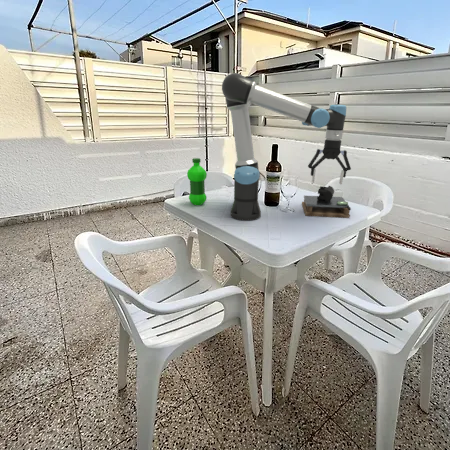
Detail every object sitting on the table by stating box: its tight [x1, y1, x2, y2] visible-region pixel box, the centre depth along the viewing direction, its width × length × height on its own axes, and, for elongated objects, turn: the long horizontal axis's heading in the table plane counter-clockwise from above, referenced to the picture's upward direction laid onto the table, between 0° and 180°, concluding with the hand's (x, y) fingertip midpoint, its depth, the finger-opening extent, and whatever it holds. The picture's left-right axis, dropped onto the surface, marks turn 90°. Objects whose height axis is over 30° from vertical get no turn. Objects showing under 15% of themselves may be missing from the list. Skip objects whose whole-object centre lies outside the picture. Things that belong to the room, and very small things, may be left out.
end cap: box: [316, 185, 335, 203], centre depth 151 cm, size 10×7×7 cm
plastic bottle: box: [186, 157, 208, 206], centre depth 160 cm, size 10×10×25 cm
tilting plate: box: [303, 195, 350, 208], centre depth 152 cm, size 20×16×3 cm
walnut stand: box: [301, 198, 352, 219], centre depth 153 cm, size 21×20×5 cm
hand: (326, 182), depth 149 cm, fingers open, 13 cm apart
